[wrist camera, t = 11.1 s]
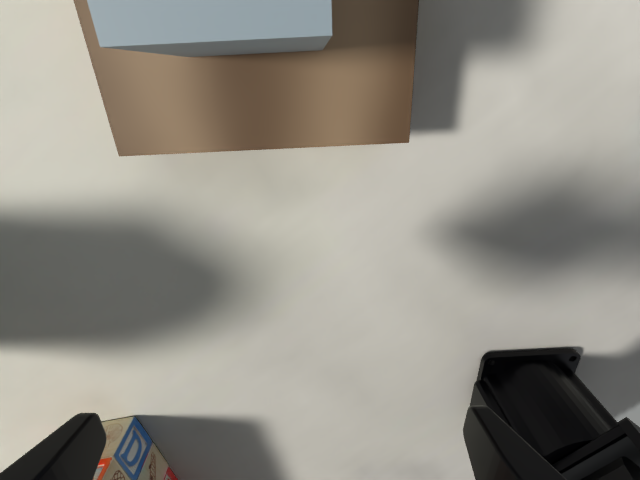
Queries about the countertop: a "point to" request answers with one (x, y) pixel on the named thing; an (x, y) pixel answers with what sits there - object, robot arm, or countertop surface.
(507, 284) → the countertop surface
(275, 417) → the countertop surface
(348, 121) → the walnut base
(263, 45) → the grey block
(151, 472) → the stack of blocks
